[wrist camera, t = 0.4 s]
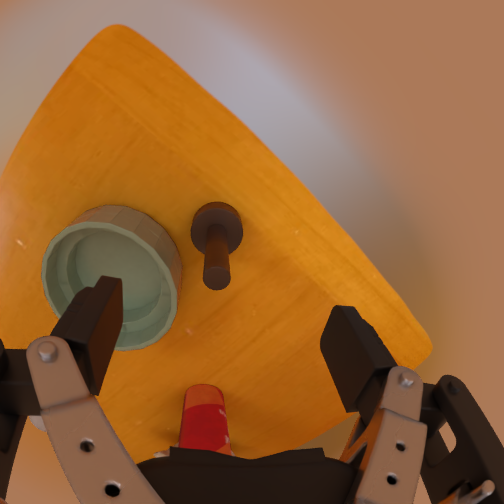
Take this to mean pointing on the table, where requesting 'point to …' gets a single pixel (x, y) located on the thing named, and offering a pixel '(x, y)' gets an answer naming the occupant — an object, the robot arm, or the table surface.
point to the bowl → (118, 269)
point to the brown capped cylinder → (216, 241)
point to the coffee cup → (204, 420)
